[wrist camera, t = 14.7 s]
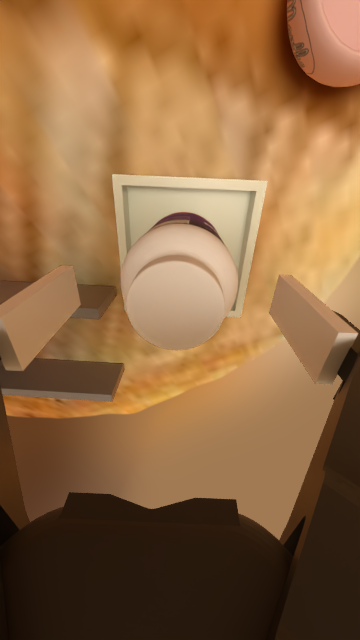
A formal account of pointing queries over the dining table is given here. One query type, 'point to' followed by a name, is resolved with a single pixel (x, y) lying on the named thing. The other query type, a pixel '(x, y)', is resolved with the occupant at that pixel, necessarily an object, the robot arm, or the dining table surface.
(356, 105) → the dining table surface
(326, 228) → the dining table surface
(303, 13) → the mug
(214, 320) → the pill bottle
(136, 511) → the robot arm
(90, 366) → the bay
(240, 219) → the tray
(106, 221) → the dining table surface
